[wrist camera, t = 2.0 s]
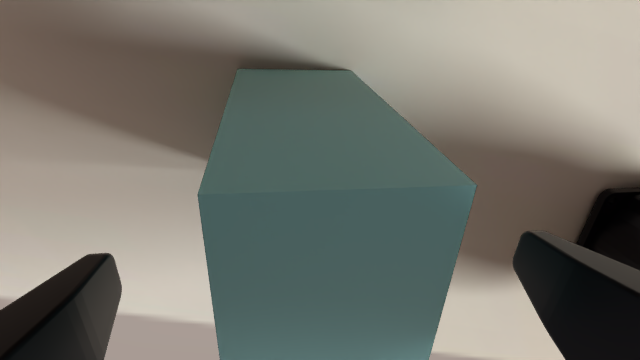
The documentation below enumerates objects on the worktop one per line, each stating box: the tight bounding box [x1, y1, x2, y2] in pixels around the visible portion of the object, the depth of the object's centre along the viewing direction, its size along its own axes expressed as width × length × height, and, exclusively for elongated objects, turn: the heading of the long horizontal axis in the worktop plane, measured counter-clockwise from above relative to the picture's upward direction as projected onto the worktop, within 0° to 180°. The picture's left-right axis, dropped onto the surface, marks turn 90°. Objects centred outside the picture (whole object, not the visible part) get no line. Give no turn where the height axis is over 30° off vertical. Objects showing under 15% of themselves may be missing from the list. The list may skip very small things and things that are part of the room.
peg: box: [198, 69, 477, 360], centre depth 11 cm, size 5×5×10 cm
